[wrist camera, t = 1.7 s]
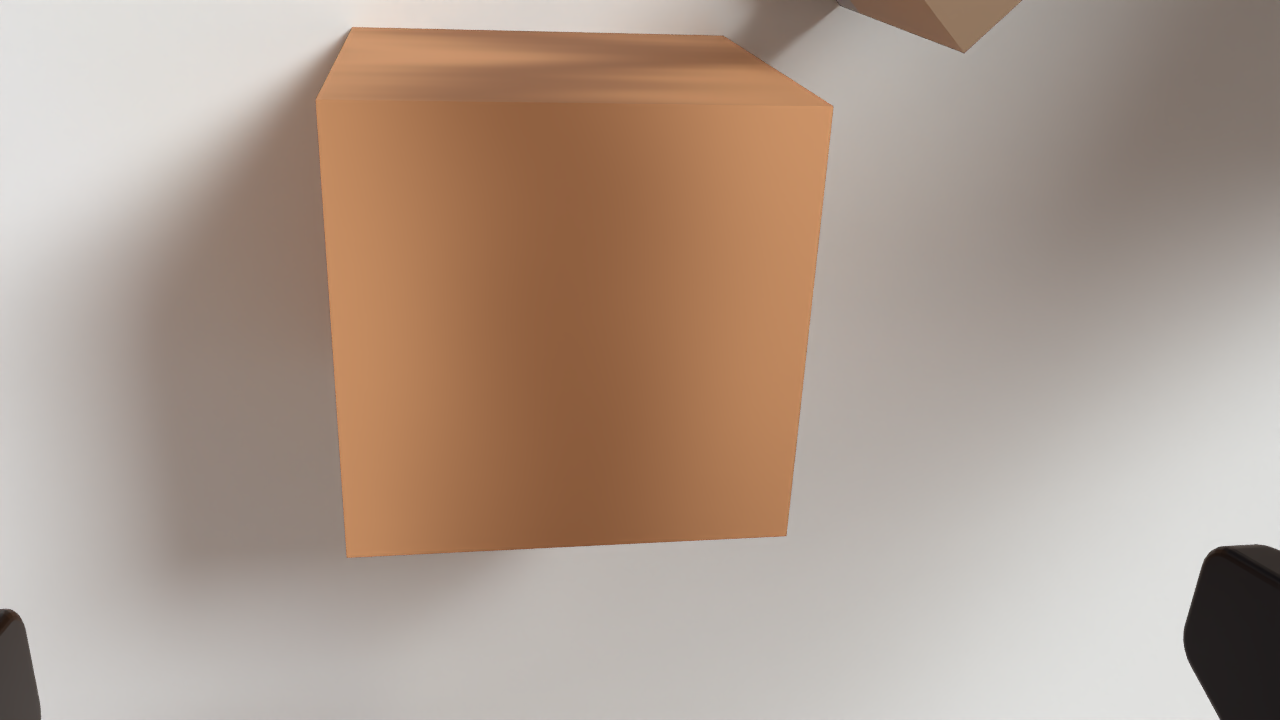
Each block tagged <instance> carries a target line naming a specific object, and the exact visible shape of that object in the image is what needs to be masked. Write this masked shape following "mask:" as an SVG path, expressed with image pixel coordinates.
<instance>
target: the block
mask: <svg viewBox="0 0 1280 720" xmlns="http://www.w3.org/2000/svg"><path fill="white" fill-rule="evenodd" d="M316 113H317V127H318V142H319V157H320V172H321V186H322V201H323V216H324V231H325V245H326V260H327V275H328V289H329V304H330V319H331V334H332V348H333V363H334V378H335V393H336V407H337V422H338V437H339V452H340V466H341V481H342V496H343V510H344V525H345V540H346V555H347V558H352V557H372V556H392V555H413V554H433V553H453V552H473V551H494V550H514V549H534V548H554V547H575V546H595V545H615V544H635V543H656V542H676V541H696V540H716V539H737V538H757V537H777V536H786V534H787V525H788V516H789V507H790V498H791V489H792V480H793V471H794V461H795V452H796V443H797V434H798V425H799V416H800V407H801V398H802V389H803V379H804V370H805V361H806V352H807V343H808V334H809V325H810V316H811V306H812V297H813V288H814V279H815V270H816V261H817V252H818V243H819V233H820V224H821V215H822V206H823V197H824V188H825V179H826V170H827V160H828V151H829V142H830V133H831V124H832V115H833V106H832V105H831V104H829V103H827V102H826V101H824V100H823V99H821V98H820V97H818V96H816V95H815V94H813V93H812V92H810V91H809V90H807V89H806V88H804V87H802V86H801V85H799V84H798V83H796V82H795V81H793V80H792V79H790V78H788V77H787V76H785V75H784V74H782V73H781V72H779V71H777V70H776V69H774V68H773V67H771V66H770V65H768V64H767V63H765V62H763V61H762V60H760V59H759V58H757V57H756V56H754V55H753V54H751V53H749V52H748V51H746V50H745V49H743V48H742V47H740V46H738V45H737V44H735V43H734V42H732V41H731V40H729V39H728V38H726V37H724V36H713V35H670V34H626V33H583V32H539V31H496V30H452V29H408V28H365V27H352V29H351V31H350V33H349V35H348V37H347V39H346V41H345V43H344V45H343V47H342V49H341V51H340V52H339V54H338V56H337V58H336V60H335V62H334V64H333V66H332V68H331V70H330V72H329V74H328V76H327V78H326V80H325V82H324V84H323V86H322V88H321V90H320V92H319V94H318V96H317V98H316Z"/></svg>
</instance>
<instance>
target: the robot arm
mask: <svg viewBox="0 0 1280 720" xmlns="http://www.w3.org/2000/svg"><path fill="white" fill-rule="evenodd" d="M1183 641H1184V648H1185V652H1186V656H1187V659H1188V661H1189V663H1190V665H1191V667H1192V669H1193V671H1194V673H1195V674H1196V676H1197V678H1198V680H1199V682H1200V684H1201V685H1202V687H1203V689H1204V691H1205V693H1206V695H1207V697H1208V698H1209V700H1210V702H1211V704H1212V706H1213V708H1214V709H1215V711H1216V713H1217V715H1218V717H1219V719H1220V720H1280V550H1277V549H1275V548H1272V547H1269V546H1266V545H1258V544H1254V545H1236V546H1221V547H1218V548H1216V549H1214V550H1212V551H1211V552H1210V553H1209V554H1208V555H1207V556H1206V558H1205V559H1204V562H1203V564H1202V567H1201V571H1200V574H1199V578H1198V581H1197V585H1196V588H1195V592H1194V595H1193V599H1192V602H1191V606H1190V609H1189V613H1188V616H1187V620H1186V623H1185V627H1184V635H1183ZM0 720H41V708H40V701H39V696H38V691H37V685H36V680H35V675H34V670H33V665H32V660H31V655H30V650H29V644H28V639H27V634H26V630H25V626H24V623H23V621H22V619H21V618H20V616H19V615H18V614H17V613H16V612H14V611H13V610H11V609H0Z"/></svg>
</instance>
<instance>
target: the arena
mask: <svg viewBox="0 0 1280 720" xmlns="http://www.w3.org/2000/svg"><path fill="white" fill-rule="evenodd" d="M836 1H837V2H838V4H839V5H840V6H842V7H845V8H847V9H850V10H853V11H855V12H858V13H860V14H863V15H866V16H868V17H871V18H874V19H876V20H879V21H881V22H884V23H887V24H889V25H892V26H894V27H897V28H900V29H902V30H905V31H908V32H910V33H913V34H915V35H918V36H921V37H923V38H926V39H928V40H931V41H934V42H936V43H939V44H942V45H944V46H947V47H949V48H952V49H955V50H957V51H960V52H962V53H965V52H966V51H967V50H968V49H969V48H971V47H972V46H973V45H974V44H975V43H976V42H977V41H978V40H979V39H980V38H981V37H983V36H984V35H985V34H986V33H987V32H988V31H989V30H990V29H991V28H992V27H993V26H995V25H996V24H997V23H998V22H999V21H1000V20H1001V19H1002V18H1003V17H1004V16H1006V15H1007V14H1008V13H1009V12H1010V11H1011V10H1012V9H1013V8H1014V7H1015V6H1016V5H1018V4H1019V3H1020V2H1021V1H1022V0H836Z"/></svg>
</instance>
